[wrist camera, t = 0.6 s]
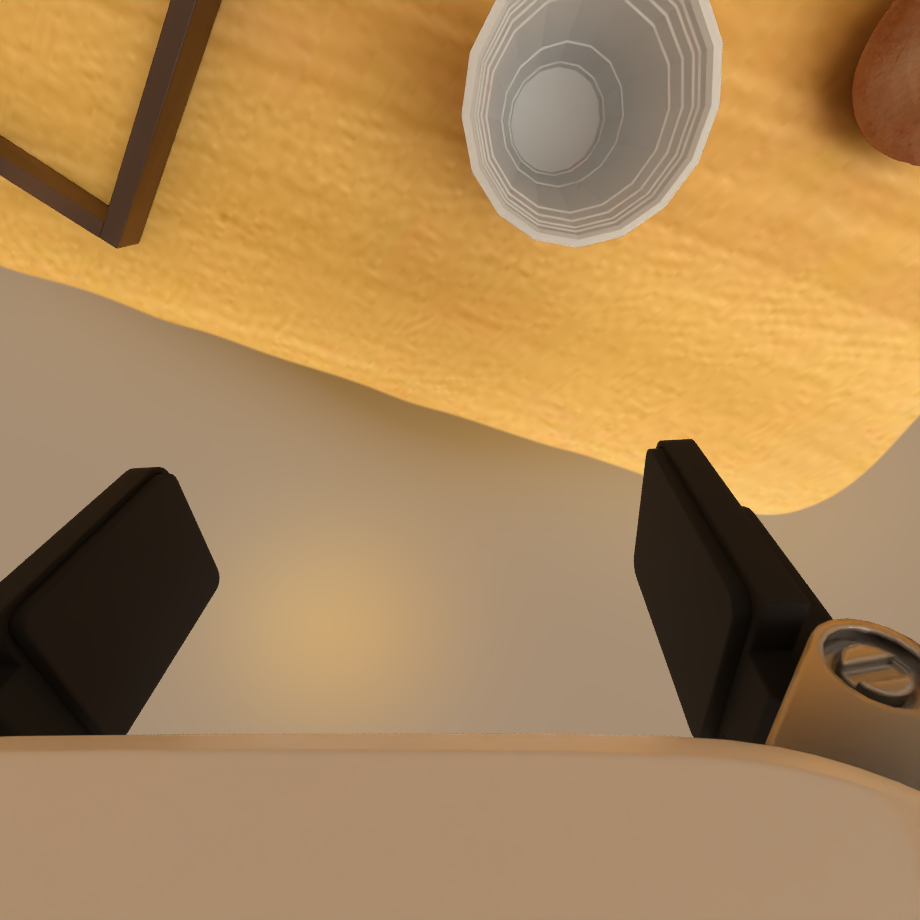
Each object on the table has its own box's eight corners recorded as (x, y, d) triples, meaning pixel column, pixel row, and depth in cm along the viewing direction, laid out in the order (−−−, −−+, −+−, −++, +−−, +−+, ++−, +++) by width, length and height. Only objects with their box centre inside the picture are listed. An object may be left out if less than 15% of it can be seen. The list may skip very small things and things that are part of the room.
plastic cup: (549, 257, 35) (575, 299, 25) (433, 130, 32) (408, 117, 21) (684, 119, 31) (783, 101, 20) (567, -46, 27) (615, -168, 17)
